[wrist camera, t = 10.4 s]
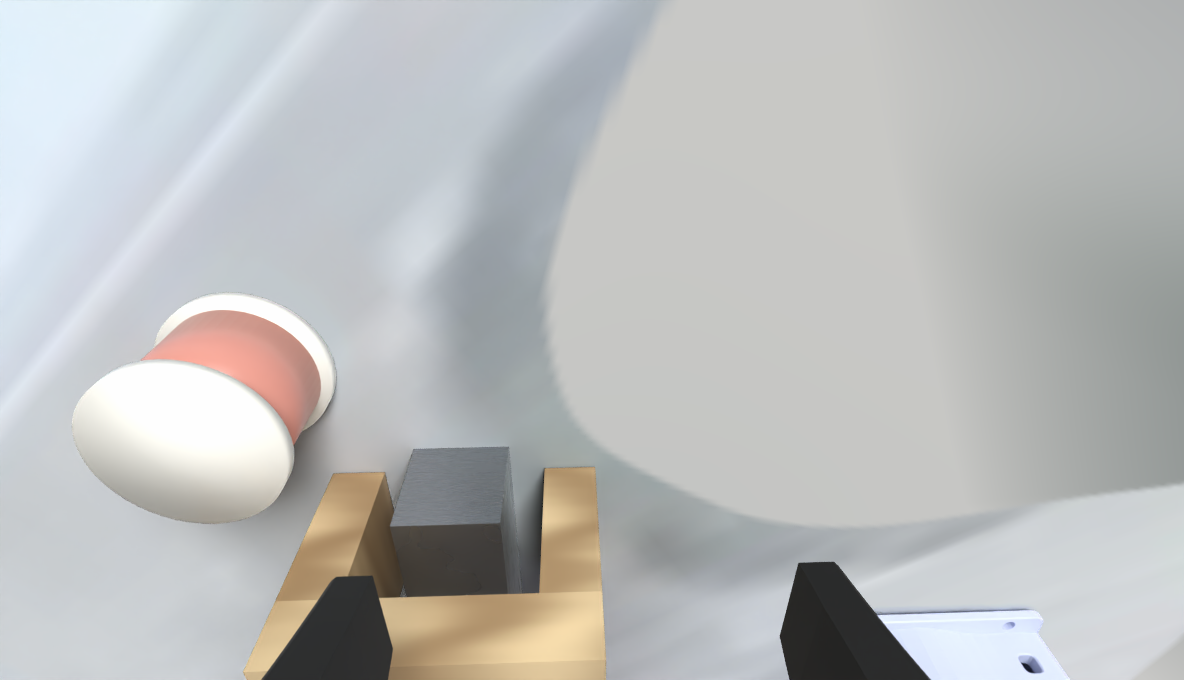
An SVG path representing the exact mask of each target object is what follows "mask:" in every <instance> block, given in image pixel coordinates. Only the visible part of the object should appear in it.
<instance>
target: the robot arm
mask: <svg viewBox="0 0 1184 680" xmlns="http://www.w3.org/2000/svg"><path fill="white" fill-rule="evenodd" d="M1042 624H1043V619H1042V617H1041V616H1040V615H1039V613H1038V612H1036V611H1034V610H1018V611H987V612H956V613H925V614H894V615H877V614H876V613H875V612H874V611H873V609H872V608H871V607H870V606H869V604H868V603H867V602H866V601H865V599H864V598H863V597H862V595H861V594H860V593H859V592H858V590H857V589H856V588H855V587H854V585H853V584H852V583H851V581H850V580H849V579H848V578H847V576H846V575H845V574H844V572H843V571H842V570H841V569H840V567H839V566H838V565H837V564H836V563H835V562H811V563H798V567H797V571H796V575H795V579H794V583H793V587H792V591H791V594H790V598H789V602H788V606H787V610H786V614H785V618H784V622H783V626H782V630H781V633H780V639H781V644H782V648H783V653H784V657H785V662H786V666H787V671H788V675H789V679H790V680H1070V679H1069V677H1068V676H1067V674H1066V673H1065V671H1064V670H1063V669H1062V667H1061V666H1060V664H1059V663H1058V661H1057V660H1056V659H1055V657H1054V656H1053V654H1052V653H1051V652H1050V650H1049V649H1048V647H1047V646H1046V644H1045V643H1044V642H1043V640H1042V639H1041V637H1040V636H1039V634H1038V631H1039V629H1040V628H1041V626H1042ZM392 653H393V647H392V643H391V640H390V636H389V632H388V629H387V625H386V622H385V618H384V614H383V611H382V607H381V604H380V600H379V597H378V593H377V589H376V586H375V582H374V579H373V576H341V577H335V578H334V579H333V580H332V581H331V582H330V583H329V585H328V586H327V587H326V589H325V590H324V592H323V593H322V595H321V596H320V598H319V599H318V601H317V602H316V604H315V605H314V607H313V608H312V609H311V611H310V612H309V614H308V615H307V617H306V618H305V620H304V621H303V623H302V624H301V625H300V627H299V628H298V630H297V631H296V632H295V634H294V635H293V637H292V638H291V640H290V641H289V642H288V644H287V645H286V646H285V648H284V649H283V651H282V652H281V653H280V655H279V656H278V658H277V659H276V660H275V662H274V663H273V665H272V666H271V667H270V669H269V670H268V671H267V673H266V674H265V675H264V677H263V678H262V679H261V680H388V677H389V671H390V665H391V659H392Z"/></svg>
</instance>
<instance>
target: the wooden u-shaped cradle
mask: <svg viewBox="0 0 1184 680" xmlns="http://www.w3.org/2000/svg"><path fill="white" fill-rule="evenodd" d="M393 514H394V510H393V506H392V501H391V497H390V493H389V488H388V484H387V480H386V476H385V472H379V473H339V474H333V476H332V478H331V480H330V482H329V484H328V487H327V489H326V491H325V493H324V495H323V497H322V500H321V502H320V504H319V506H318V508H317V511H316V513H315V515H314V517H313V519H312V522H311V524H310V526H309V528H308V530H307V533H306V535H305V537H304V539H303V541H302V544H301V546H300V548H299V550H298V552H297V555H296V557H295V559H294V561H293V563H292V566H291V568H290V570H289V572H288V574H287V577H286V579H285V581H284V583H283V585H282V588H281V590H280V592H279V594H278V596H277V599H276V601H275V603H274V605H273V607H272V609H271V612H270V614H269V616H268V618H267V620H266V623H265V625H264V627H263V629H262V631H261V634H260V636H259V638H258V640H257V642H256V645H255V647H254V649H253V651H252V653H251V656H250V658H249V660H248V662H247V664H246V667H245V669H244V671H243V673H244V675H245V677H246V679H247V680H261V679H262V678H263V677H264V675H265V674H266V673H267V671H268V670H269V669H270V667H271V666H272V665H273V663H274V662H275V660H276V659H277V658H278V656H279V655H280V653H281V652H282V651H283V649H284V648H285V646H286V645H287V644H288V642H289V641H290V640H291V638H292V637H293V635H294V634H295V632H296V631H297V630H298V628H299V627H300V625H301V624H302V623H303V621H304V620H305V618H306V617H307V615H308V614H309V612H310V611H311V609H312V608H313V607H314V605H315V604H316V602H317V601H318V599H319V598H320V596H321V595H322V593H323V592H324V590H325V589H326V587H327V586H328V585H329V583H330V582H331V581H332V580H333V579H334V578H335V577H341V576H373V579H374V582H375V586H376V589H377V593H378V597H379V600H380V604H381V607H382V611H383V614H384V618H385V622H386V625H387V629H388V632H389V636H390V640H391V643H392V647H393V653H392V659H391V665H390V671H389V677H388V680H606V651H605V633H604V616H603V598H602V580H601V563H600V545H599V527H598V510H597V492H596V474H595V467H579V468H545V473H544V496H543V520H542V543H541V566H540V589H539V593H527V594H495V595H462V596H430V597H400V594H401V591H402V587H403V579H402V575H401V571H400V567H399V563H398V558H397V554H396V550H395V546H394V542H393V538H392V534H391V530H390V524H391V521H392V518H393Z"/></svg>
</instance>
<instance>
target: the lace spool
mask: <svg viewBox="0 0 1184 680" xmlns="http://www.w3.org/2000/svg"><path fill="white" fill-rule="evenodd" d="M335 386H336V369H335V363H334V360H333V358H332V355H331V353H330V351H329V349H328V347H327V345H326V343H325V342H324V340H323V339H322V337H321V336H320V335H319V334H318V333H317V332H316V330H315V329H314V328H313V327H312V326H311V325H310V324H309V323H307V322H306V321H305V320H304V319H303V318H301V317H300V316H299V315H297V314H296V313H294V312H293V311H291V310H289V309H288V308H286V307H284V306H282V305H280V304H278V303H276V302H274V301H271V300H268V299H265V298H263V297H259V296H255V295H251V294H245V293H236V292H222V293H213V294H208V295H204V296H201V297H198V298H195V299H193V300H191V301H189V302H188V303H186V304H184V305H183V306H182V307H181V308H179V309H178V310H177V311H176V312H175V313H174V314H172V315H171V316H170V317H169V318H168V319H167V320H166V321H165V323H164V324H163V325H162V327H161V328H160V330H159V332H158V334H157V337H156V340H155V345H154V348H153V349H152V350H151V351H150V352H149V353H148V354H147V355H146V356H145V357H144V358H143V359H142V360H140V361H138V362H132V363H129V364H126V365H123V366H120V367H118V368H116V369H114V370H112V371H110V372H109V373H108V374H106V375H105V376H104V377H102V378H101V379H100V380H99V381H98V382H97V383H95V384H94V385H93V386H92V387H91V388H90V389H89V390H88V391H87V392H86V393H85V394H84V395H83V396H82V397H81V398H80V400H79V402H78V404H77V405H76V407H75V411H74V414H73V419H72V432H73V438H74V441H75V444H76V447H77V449H78V451H79V454H80V456H81V457H82V459H83V460H84V462H85V463H86V465H87V466H88V468H89V469H90V470H91V471H92V472H93V474H94V475H95V476H96V477H97V478H98V479H99V480H100V481H101V482H102V483H103V484H105V485H106V486H107V487H108V488H110V489H111V490H112V491H113V492H115V493H116V494H118V495H119V496H121V497H122V498H124V499H125V500H127V501H129V502H131V503H133V504H135V505H136V506H138V507H141V508H143V509H145V510H147V511H150V512H152V513H155V514H158V515H161V516H164V517H168V518H171V519H175V520H180V521H185V522H192V523H202V524H218V523H228V522H234V521H239V520H242V519H246V518H249V517H251V516H254V515H256V514H258V513H260V512H261V511H263V510H265V509H266V508H267V507H269V506H270V505H271V504H272V503H273V502H274V501H275V500H276V499H277V498H278V496H279V495H280V493H281V491H282V490H283V488H284V486H285V484H286V482H287V480H288V478H289V477H290V475H291V472H292V469H293V465H294V447H293V446H294V444H295V442H296V440H297V439H298V437H299V435H300V433H301V432H302V431H304V430H305V429H307V428H309V427H310V426H312V425H313V424H314V423H315V422H316V421H317V420H318V419H319V418H320V417H321V416H322V415H323V413H324V411H325V410H326V408H327V406H328V404H329V402H330V400H331V399H332V397H333V394H334V391H335Z"/></svg>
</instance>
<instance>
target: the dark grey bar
mask: <svg viewBox="0 0 1184 680" xmlns="http://www.w3.org/2000/svg"><path fill="white" fill-rule="evenodd" d="M390 530H391V534H392V538H393V542H394V546H395V550H396V554H397V558H398V563H399V567H400V571H401V575H402V579H403V583H404V587H405V591H406V595H407V597H430V596H462V595H495V594H522V583H521V572H520V561H519V551H518V540H517V529H516V518H515V508H514V497H513V486H512V475H511V465H510V454H509V447H478V448H438V449H414V450H413V453H412V456H411V460H410V463H409V466H408V469H407V472H406V476H405V479H404V482H403V485H402V489H401V492H400V495H399V498H398V501H397V505H396V508H395V511H394V514H393V518H392V521H391V524H390Z"/></svg>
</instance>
